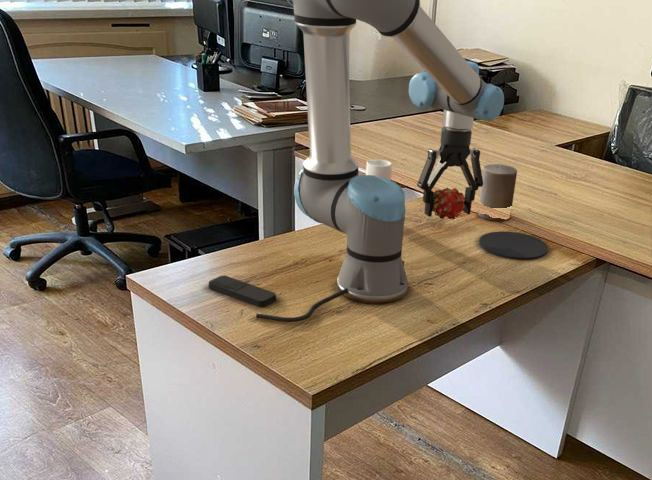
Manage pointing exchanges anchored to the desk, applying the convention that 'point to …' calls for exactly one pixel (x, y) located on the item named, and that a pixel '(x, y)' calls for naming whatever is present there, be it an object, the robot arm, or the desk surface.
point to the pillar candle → (497, 187)
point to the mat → (513, 245)
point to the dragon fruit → (448, 203)
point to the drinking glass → (379, 168)
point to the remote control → (242, 290)
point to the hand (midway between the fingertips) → (447, 213)
